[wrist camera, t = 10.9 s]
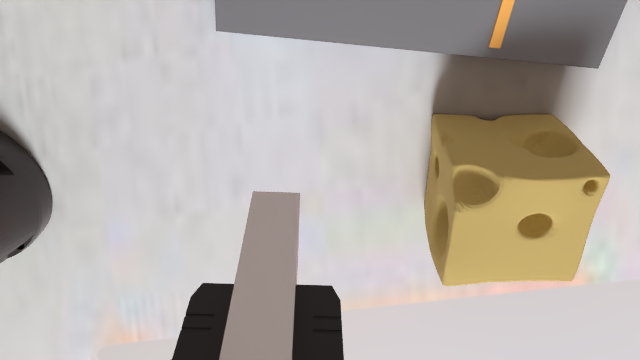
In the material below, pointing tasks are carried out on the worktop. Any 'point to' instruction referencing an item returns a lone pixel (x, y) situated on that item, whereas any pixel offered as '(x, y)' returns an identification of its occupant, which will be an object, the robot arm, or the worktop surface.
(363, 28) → the console
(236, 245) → the worktop surface
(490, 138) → the cheese
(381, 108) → the worktop surface
